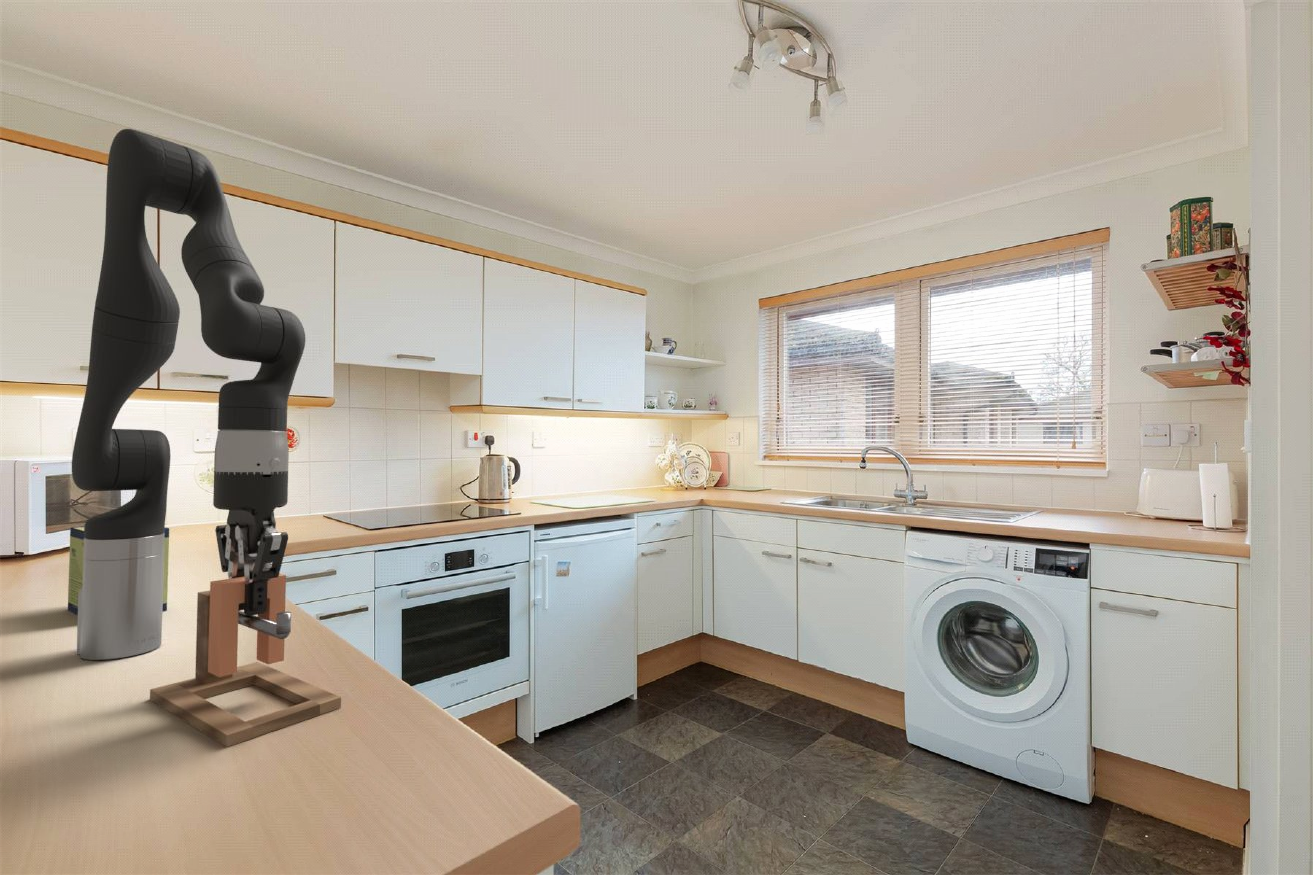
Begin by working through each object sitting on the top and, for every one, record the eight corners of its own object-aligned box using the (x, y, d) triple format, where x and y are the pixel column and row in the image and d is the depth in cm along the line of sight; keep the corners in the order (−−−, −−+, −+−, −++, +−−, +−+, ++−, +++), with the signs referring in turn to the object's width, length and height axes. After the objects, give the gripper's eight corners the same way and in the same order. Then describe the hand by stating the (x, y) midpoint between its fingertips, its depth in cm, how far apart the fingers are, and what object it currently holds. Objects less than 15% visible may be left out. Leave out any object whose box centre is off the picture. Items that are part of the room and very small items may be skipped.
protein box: (96, 623, 107) (99, 533, 107) (65, 610, 115) (68, 526, 115) (169, 610, 115) (171, 527, 116) (135, 599, 124) (138, 521, 124)
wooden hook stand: (149, 699, 75) (152, 598, 76) (257, 670, 85) (259, 581, 85) (226, 746, 64) (229, 627, 64) (340, 707, 74) (343, 604, 74)
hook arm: (214, 617, 78) (215, 594, 78) (226, 615, 79) (227, 592, 79) (279, 641, 69) (280, 615, 69) (293, 638, 70) (293, 612, 70)
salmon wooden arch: (219, 677, 71) (221, 584, 71) (207, 671, 72) (210, 581, 72) (283, 660, 76) (286, 575, 77) (272, 655, 78) (274, 572, 78)
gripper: (191, 467, 76) (187, 609, 75) (244, 470, 68) (240, 629, 67) (258, 466, 82) (255, 597, 81) (314, 469, 74) (310, 614, 74)
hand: (248, 611), depth 74 cm, fingers closed on salmon wooden arch, 3 cm apart
